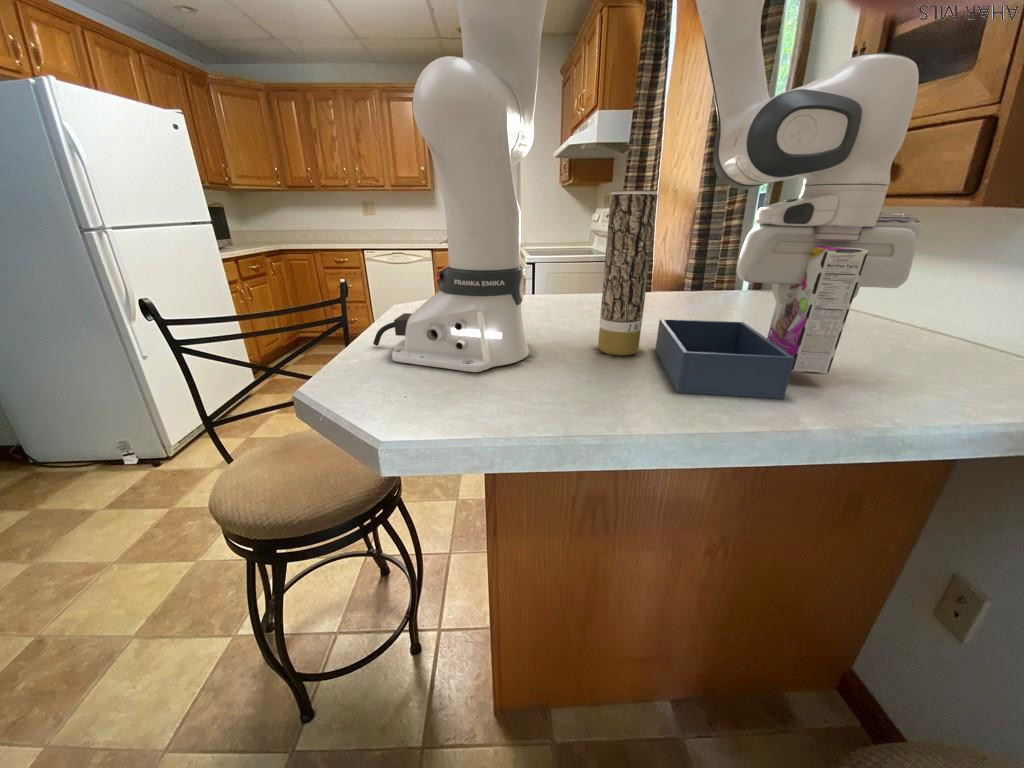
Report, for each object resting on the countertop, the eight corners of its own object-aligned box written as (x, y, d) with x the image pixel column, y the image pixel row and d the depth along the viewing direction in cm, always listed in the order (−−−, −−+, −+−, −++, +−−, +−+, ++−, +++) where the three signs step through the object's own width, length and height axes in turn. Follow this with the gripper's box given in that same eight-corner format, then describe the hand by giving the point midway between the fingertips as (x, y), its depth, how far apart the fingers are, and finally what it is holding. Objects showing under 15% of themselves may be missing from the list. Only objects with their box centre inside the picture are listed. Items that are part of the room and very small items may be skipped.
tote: (677, 392, 56) (683, 352, 54) (655, 350, 73) (659, 318, 71) (783, 399, 54) (795, 358, 52) (736, 354, 71) (743, 321, 69)
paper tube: (593, 354, 71) (607, 190, 61) (601, 343, 77) (615, 192, 67) (635, 359, 69) (656, 189, 59) (640, 347, 74) (659, 191, 65)
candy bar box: (761, 348, 68) (789, 240, 61) (795, 350, 67) (827, 241, 61) (789, 372, 58) (826, 247, 51) (829, 376, 57) (872, 248, 50)
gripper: (908, 212, 56) (872, 315, 61) (745, 209, 59) (723, 308, 64) (946, 213, 50) (902, 326, 55) (763, 209, 53) (737, 318, 58)
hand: (805, 316), depth 60 cm, fingers closed on candy bar box, 5 cm apart
